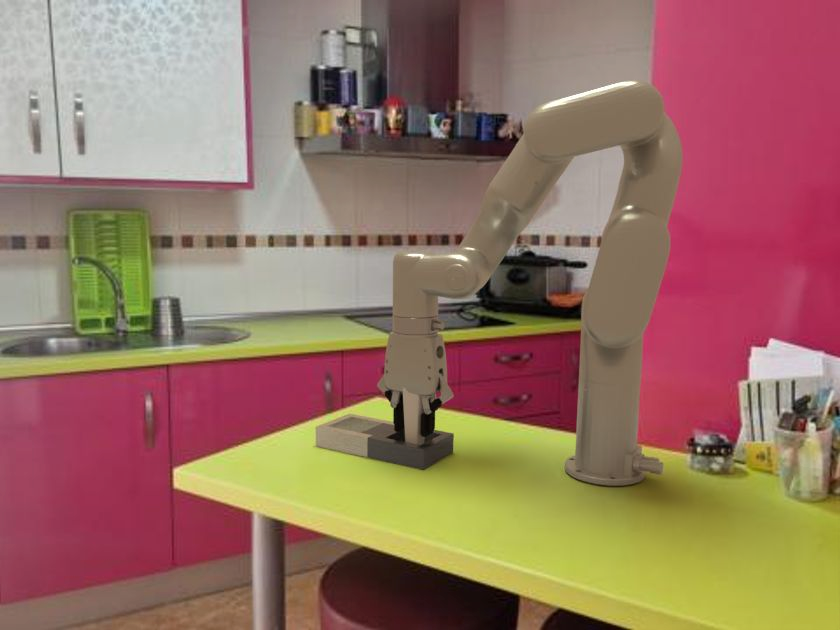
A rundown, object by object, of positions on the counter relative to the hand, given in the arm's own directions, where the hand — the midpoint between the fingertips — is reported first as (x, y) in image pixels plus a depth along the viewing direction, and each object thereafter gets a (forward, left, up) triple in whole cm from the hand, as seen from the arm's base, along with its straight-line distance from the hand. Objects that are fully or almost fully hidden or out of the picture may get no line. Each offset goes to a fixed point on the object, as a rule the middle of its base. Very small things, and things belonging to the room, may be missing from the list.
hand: (413, 431), depth 130 cm
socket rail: (+6, 0, -4) cm, 7 cm away
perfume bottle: (0, 0, -5) cm, 5 cm away
